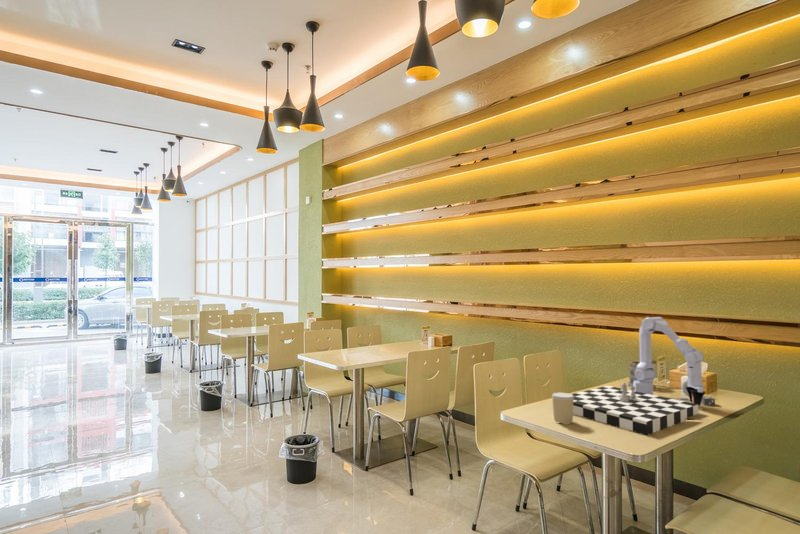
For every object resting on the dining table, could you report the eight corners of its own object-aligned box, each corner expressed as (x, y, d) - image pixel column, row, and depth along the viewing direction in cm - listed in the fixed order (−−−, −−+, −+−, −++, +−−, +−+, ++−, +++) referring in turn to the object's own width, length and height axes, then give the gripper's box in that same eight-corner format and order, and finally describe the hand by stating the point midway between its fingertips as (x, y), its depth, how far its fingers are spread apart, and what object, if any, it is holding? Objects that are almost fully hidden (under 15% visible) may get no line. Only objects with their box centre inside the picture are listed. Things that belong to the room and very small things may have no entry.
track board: (689, 411, 218) (689, 408, 218) (674, 399, 238) (674, 397, 238) (706, 412, 216) (706, 409, 216) (689, 400, 236) (689, 398, 236)
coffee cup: (578, 422, 202) (578, 395, 202) (564, 426, 197) (564, 398, 197) (562, 417, 210) (561, 391, 210) (547, 420, 205) (547, 393, 205)
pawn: (692, 408, 218) (692, 392, 219) (689, 406, 222) (689, 390, 222) (701, 408, 218) (700, 393, 218) (698, 406, 221) (697, 391, 221)
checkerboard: (646, 436, 185) (646, 400, 186) (555, 410, 223) (554, 380, 223) (698, 417, 210) (697, 385, 210) (608, 396, 248) (607, 369, 248)
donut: (703, 398, 240) (703, 379, 240) (701, 399, 238) (701, 380, 238) (682, 395, 248) (682, 376, 248) (680, 396, 245) (680, 377, 246)
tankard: (640, 389, 260) (640, 363, 260) (623, 384, 272) (622, 359, 272) (666, 386, 266) (666, 361, 267) (648, 382, 278) (648, 357, 279)
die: (704, 407, 223) (704, 398, 223) (700, 405, 228) (700, 396, 228) (715, 408, 222) (714, 399, 222) (711, 405, 227) (710, 396, 227)
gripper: (710, 379, 212) (710, 408, 212) (698, 373, 226) (698, 400, 226) (693, 378, 214) (693, 407, 214) (682, 372, 228) (682, 399, 228)
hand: (695, 403), depth 220 cm, fingers open, 5 cm apart
